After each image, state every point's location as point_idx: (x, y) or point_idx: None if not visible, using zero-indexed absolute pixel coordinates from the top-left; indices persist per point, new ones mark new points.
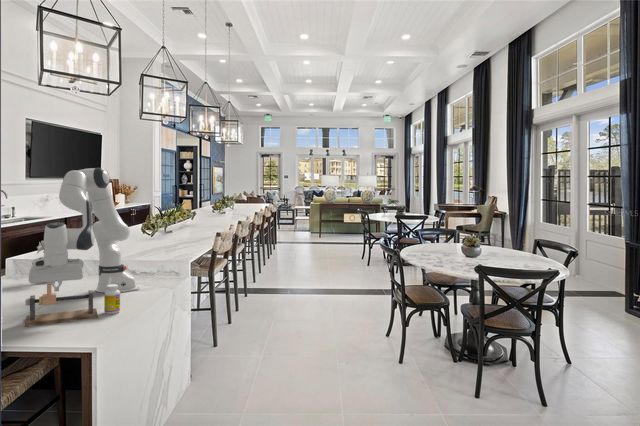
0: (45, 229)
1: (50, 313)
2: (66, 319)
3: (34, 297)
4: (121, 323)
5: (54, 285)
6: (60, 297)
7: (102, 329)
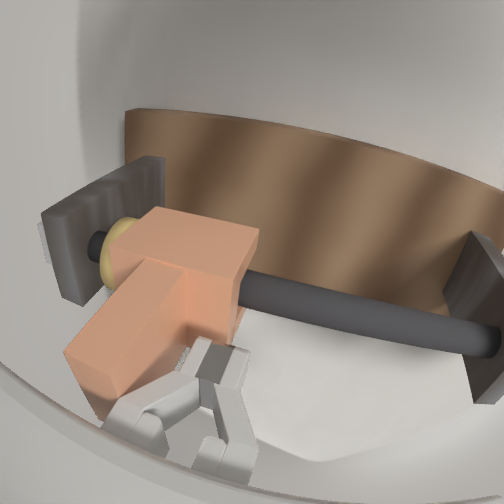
0: None
1: (251, 131)
2: None
3: (78, 291)
4: (456, 404)
5: (172, 424)
6: (278, 314)
7: (382, 419)
